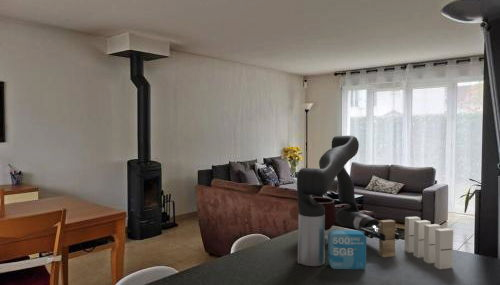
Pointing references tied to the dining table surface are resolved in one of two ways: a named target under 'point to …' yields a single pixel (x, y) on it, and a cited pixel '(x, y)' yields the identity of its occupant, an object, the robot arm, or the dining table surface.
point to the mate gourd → (327, 212)
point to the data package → (346, 249)
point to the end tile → (443, 248)
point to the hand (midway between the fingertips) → (391, 237)
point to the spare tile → (387, 238)
